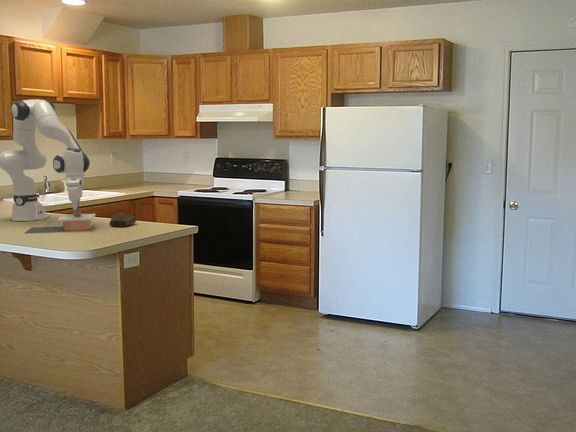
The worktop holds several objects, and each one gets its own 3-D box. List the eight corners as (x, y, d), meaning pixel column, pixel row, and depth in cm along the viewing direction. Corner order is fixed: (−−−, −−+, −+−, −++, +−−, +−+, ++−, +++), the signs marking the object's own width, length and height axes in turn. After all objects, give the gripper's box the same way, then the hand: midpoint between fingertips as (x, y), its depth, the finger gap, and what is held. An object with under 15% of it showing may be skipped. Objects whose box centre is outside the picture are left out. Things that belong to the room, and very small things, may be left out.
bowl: (66, 228, 332) (66, 216, 331) (92, 227, 334) (92, 216, 333) (62, 232, 319) (61, 220, 318) (89, 231, 321) (89, 219, 321)
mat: (31, 228, 332) (31, 227, 332) (66, 227, 335) (66, 226, 335) (23, 234, 313) (23, 233, 313) (59, 233, 316) (59, 232, 316)
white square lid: (63, 216, 332) (62, 206, 332) (95, 215, 335) (95, 206, 334) (57, 221, 317) (57, 210, 316) (91, 220, 319) (91, 210, 319)
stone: (107, 227, 335) (107, 217, 334) (120, 221, 349) (120, 211, 347) (125, 229, 333) (124, 218, 332) (137, 223, 346) (137, 212, 345)
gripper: (71, 178, 333) (73, 205, 335) (65, 182, 313) (66, 211, 315) (84, 178, 334) (85, 205, 336) (78, 182, 314) (80, 210, 316)
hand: (76, 208), depth 325 cm, fingers open, 8 cm apart
